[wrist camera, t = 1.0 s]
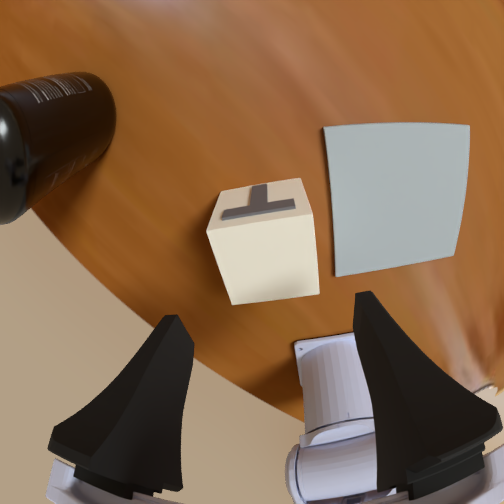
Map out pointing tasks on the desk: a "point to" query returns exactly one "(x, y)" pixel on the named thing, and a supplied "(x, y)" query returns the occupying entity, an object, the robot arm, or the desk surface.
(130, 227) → the desk surface
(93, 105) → the supplement bottle
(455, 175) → the slate mat
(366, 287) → the desk surface
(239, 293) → the letter block
